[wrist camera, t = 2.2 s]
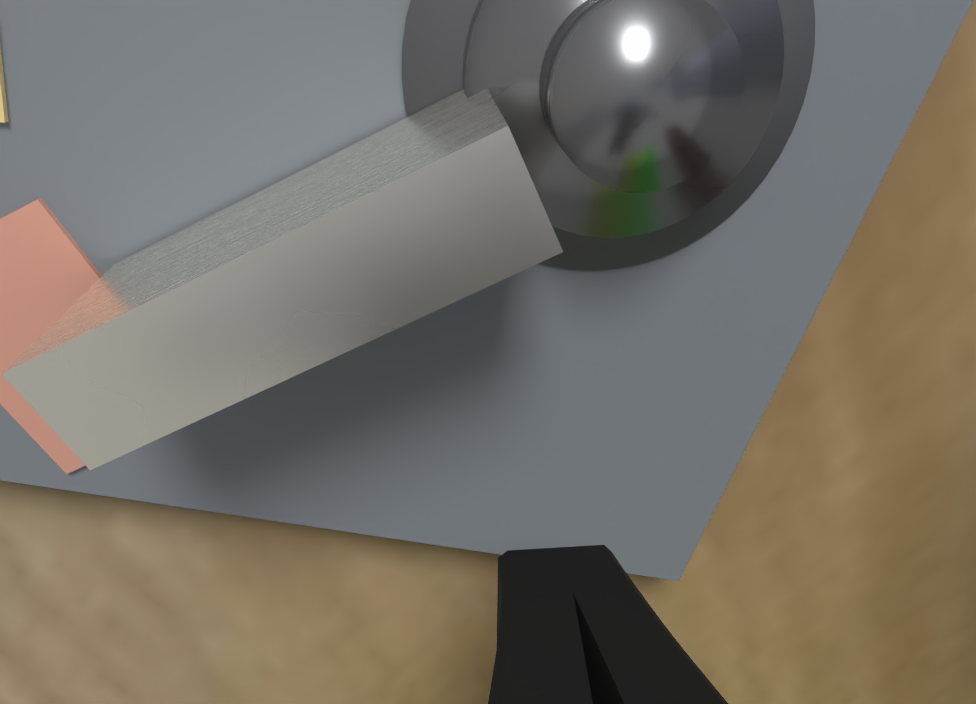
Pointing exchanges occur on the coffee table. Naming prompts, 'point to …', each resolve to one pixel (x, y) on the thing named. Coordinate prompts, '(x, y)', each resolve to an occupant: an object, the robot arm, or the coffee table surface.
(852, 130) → the tuner board
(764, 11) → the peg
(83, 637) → the coffee table surface
